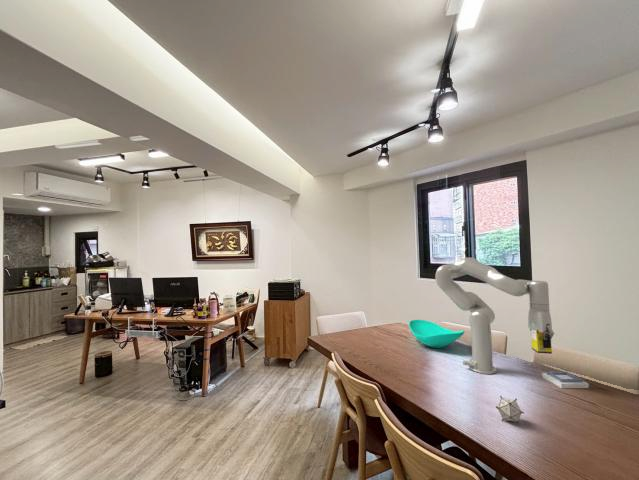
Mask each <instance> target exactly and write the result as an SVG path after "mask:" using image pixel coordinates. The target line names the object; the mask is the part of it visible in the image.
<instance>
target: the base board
mask: <svg viewBox="0 0 639 480" xmlns="http://www.w3.org/2000/svg"><path fill="white" fill-rule="evenodd" d="M541 374H542V376H541V377H542V378H543V379H545V380H547V381H549V382H550V383H552V384H554V385H555V386H557V387H558V388H560V389H589V385H590V384H589V382H586V381H584V379H583V378H580V377H578V376H576V375H574V374H572V373H570V372H569V371H546V372H541Z"/></svg>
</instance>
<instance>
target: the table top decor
mask: <svg viewBox="0 0 639 480" xmlns="http://www.w3.org/2000/svg"><path fill="white" fill-rule="evenodd" d="M408 327H409V329H410V331H411V332H410V333H412V335H413V336H414V337H415V338H416V340H418V342H420V343H422V344H424V345H426V346H428V347H431V348H437V349H440V348H444V347H446V346H448V345H450V344H452V343H454V342H455V341H457V340H459V339H460V338H461V337H462V336H463V335H464V334H465V331H464V330H457V331H454V330H451V329H448V328H444V327H442V326H441V325H439V324H436V323H435V322H432V321H429V320H426V319H413V320H410V321H409V322H408Z"/></svg>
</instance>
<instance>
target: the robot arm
mask: <svg viewBox="0 0 639 480" xmlns="http://www.w3.org/2000/svg"><path fill="white" fill-rule="evenodd" d="M434 275H435V276H434V277H435V281H436V284H437V286H438V287H439V288H440V289H441V291H442V292H443V293H444V294H445V295H446V297H448V298H449V299H450V300H451V301H452V302H453V303H454V304H455V305H456V307H458V308H459V309H460V310H462V311H463V312H465V311H466V312H467V311H469V312H470V315H469V326H470V336H471V337H470V339H471V342H470V343H471V358H470V359H469V361H467V360H464V361H462V365H463V366H467V367H469V369H470V370H471V371H473V372H475V373H479V374H483V375H493V374H495V373H497V368H496V367H495V366H494V365H493V363H494V362H493V341H492V339H493V338H492V329H491V324H492V323H493V322H494V320H495V319H496V314H495V311H494V310H492V308H491V307H490V306H489V305H488V304H487V303H486V302H485V301H484V300H483V299H482V298H481V297H479V295H478V294H476V293H474V292H471V291H466V290H464V289H463V288H462V287H461V286H460V285H459V283H457V282H455V281H454V279H456V278H459V277H463V276H466V275H468V276H470V277H473V278H475V279H478V280H480V281H482V282H485V283H487V284H488V285H489V286H491V287H493V288H495V289H497V290H499V291H501V292H504V293H506V294H508V295H511V296H514V297H522V296H524V295H528V297H529V299H528V300H529V309H528V317H527V318H528V320H527V321H528V323H527V324H528V325H527V326H528V328H529V331H530V332H531V330H534V328H535V329H538V332H539V333H542V335H543V338H544V339H543V348H551V346H552V338H553V336H554V335H555V332H554V330H553V325H552V317H551V313H550V297H549V295H550V294H549V283H548V282H547V281H544V280H528V279H520V278H519V279H514V278H511V277H509V276H507V275H504V274H502V273H501V272H499V271H498V270H497V269H496V268H494V267H493V266H490V265H488V264H485V263H483V262H480V261H479V260H478V259H476V258H475V257H464V258H461V260H459V261H456V262H453V263H449V264H448V263H447V264H442V265H440V266H439V267H438V268H437V269H436V272H435V274H434ZM545 331H548V332H545ZM545 334H547V335H545Z"/></svg>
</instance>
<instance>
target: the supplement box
mask: <svg viewBox="0 0 639 480" xmlns="http://www.w3.org/2000/svg"><path fill="white" fill-rule="evenodd" d="M545 332H548V331H545ZM545 335H547V334H545ZM530 337H531V339H530V340H531V350H532V351H534V352H536V353H537V354H548V355H549V354H552V353H553V351H552V349H553V348H552V345H551V348H543V339H544V338H543V335H542V333H539V332H538V329H535V328H534V330H531V331H530Z"/></svg>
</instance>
